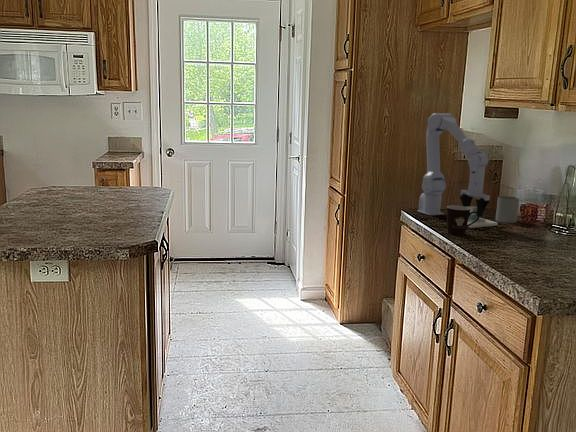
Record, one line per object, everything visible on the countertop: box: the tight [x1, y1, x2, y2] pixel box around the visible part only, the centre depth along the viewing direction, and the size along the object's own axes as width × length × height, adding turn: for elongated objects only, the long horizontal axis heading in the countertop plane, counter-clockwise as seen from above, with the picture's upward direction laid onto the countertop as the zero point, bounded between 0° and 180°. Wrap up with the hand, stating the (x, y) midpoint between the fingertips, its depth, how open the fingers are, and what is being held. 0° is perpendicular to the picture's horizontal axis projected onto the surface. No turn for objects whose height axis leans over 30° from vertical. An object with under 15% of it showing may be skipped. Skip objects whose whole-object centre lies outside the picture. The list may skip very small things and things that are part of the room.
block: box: [467, 205, 479, 220], centre depth 233 cm, size 4×4×6 cm
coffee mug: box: [446, 205, 480, 237], centre depth 213 cm, size 12×9×10 cm
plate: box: [467, 217, 498, 229], centre depth 234 cm, size 14×14×2 cm
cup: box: [495, 195, 520, 224], centre depth 240 cm, size 8×8×10 cm
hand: (472, 214), depth 233 cm, fingers open, 7 cm apart
